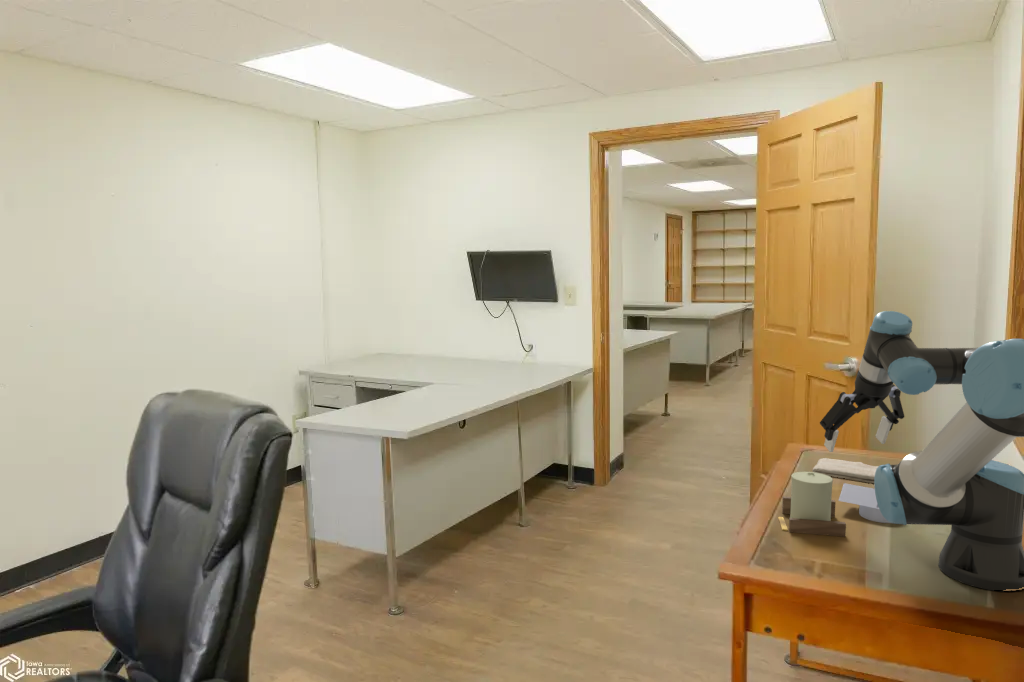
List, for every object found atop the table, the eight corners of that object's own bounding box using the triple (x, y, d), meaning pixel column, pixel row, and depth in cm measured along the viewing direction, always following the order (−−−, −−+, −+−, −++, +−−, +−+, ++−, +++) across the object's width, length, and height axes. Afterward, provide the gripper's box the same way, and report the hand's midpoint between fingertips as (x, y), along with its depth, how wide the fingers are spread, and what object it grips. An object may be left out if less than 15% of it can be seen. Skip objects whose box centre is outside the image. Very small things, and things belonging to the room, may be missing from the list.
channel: (845, 536, 157) (846, 519, 156) (782, 531, 160) (783, 514, 160) (833, 515, 169) (834, 500, 169) (775, 511, 173) (776, 495, 172)
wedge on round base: (837, 513, 171) (896, 526, 163) (838, 487, 170) (897, 498, 162) (847, 503, 178) (903, 515, 170) (848, 478, 177) (905, 488, 169)
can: (827, 518, 168) (829, 471, 166) (834, 532, 159) (836, 482, 158) (787, 515, 170) (789, 468, 169) (791, 529, 162) (793, 479, 160)
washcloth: (879, 486, 193) (879, 475, 192) (810, 475, 203) (811, 465, 202) (883, 474, 203) (884, 464, 202) (818, 465, 213) (818, 455, 212)
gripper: (915, 357, 159) (891, 426, 171) (816, 372, 156) (798, 441, 168) (937, 376, 153) (911, 446, 165) (834, 392, 150) (814, 462, 162)
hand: (854, 444), depth 167 cm, fingers open, 13 cm apart
